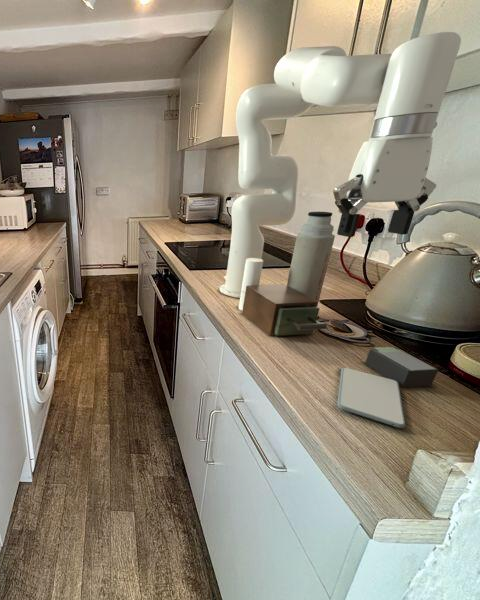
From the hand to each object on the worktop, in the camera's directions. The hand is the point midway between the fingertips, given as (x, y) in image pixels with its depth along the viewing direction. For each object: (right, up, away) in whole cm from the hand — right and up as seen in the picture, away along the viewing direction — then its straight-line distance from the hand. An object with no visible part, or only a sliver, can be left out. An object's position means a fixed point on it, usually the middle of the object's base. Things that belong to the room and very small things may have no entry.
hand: (371, 234), depth 58 cm
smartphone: (-2, -29, -2) cm, 30 cm away
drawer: (-2, -19, +22) cm, 29 cm away
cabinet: (-2, -18, +27) cm, 32 cm away
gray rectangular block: (+9, -27, +4) cm, 28 cm away
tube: (-4, -15, +36) cm, 39 cm away
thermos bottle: (+8, -16, +31) cm, 36 cm away
